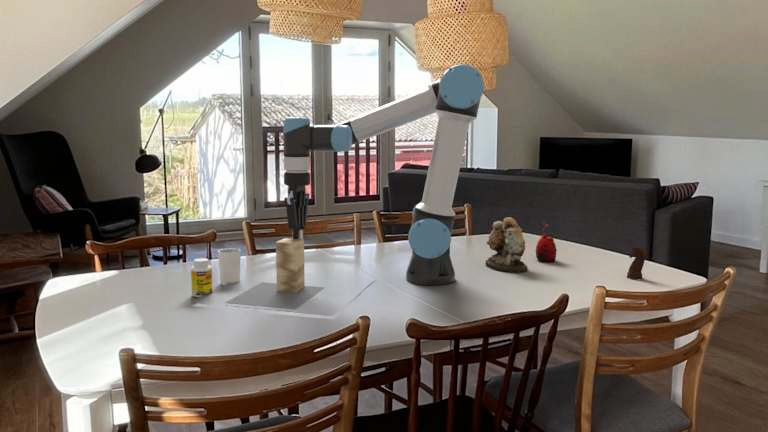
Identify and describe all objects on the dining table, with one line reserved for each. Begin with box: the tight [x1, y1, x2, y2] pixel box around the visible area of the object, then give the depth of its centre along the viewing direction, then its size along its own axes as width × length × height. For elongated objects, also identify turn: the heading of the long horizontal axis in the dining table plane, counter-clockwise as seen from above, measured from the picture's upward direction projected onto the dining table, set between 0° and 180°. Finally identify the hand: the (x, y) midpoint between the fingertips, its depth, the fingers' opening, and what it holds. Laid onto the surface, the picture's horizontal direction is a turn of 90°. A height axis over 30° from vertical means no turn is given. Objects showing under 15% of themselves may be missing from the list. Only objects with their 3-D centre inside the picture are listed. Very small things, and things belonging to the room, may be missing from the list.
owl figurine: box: [485, 216, 528, 274], centre depth 213 cm, size 18×12×17 cm, turn 28°
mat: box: [224, 281, 326, 313], centre depth 176 cm, size 20×22×1 cm
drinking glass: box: [217, 247, 242, 286], centre depth 190 cm, size 7×7×10 cm
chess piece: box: [626, 246, 646, 280], centre depth 200 cm, size 5×5×10 cm
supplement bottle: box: [190, 257, 213, 298], centre depth 177 cm, size 6×6×10 cm
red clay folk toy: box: [535, 220, 558, 263], centre depth 223 cm, size 8×7×15 cm
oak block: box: [275, 237, 306, 292], centre depth 181 cm, size 6×6×14 cm
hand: (297, 251), depth 186 cm, fingers closed
